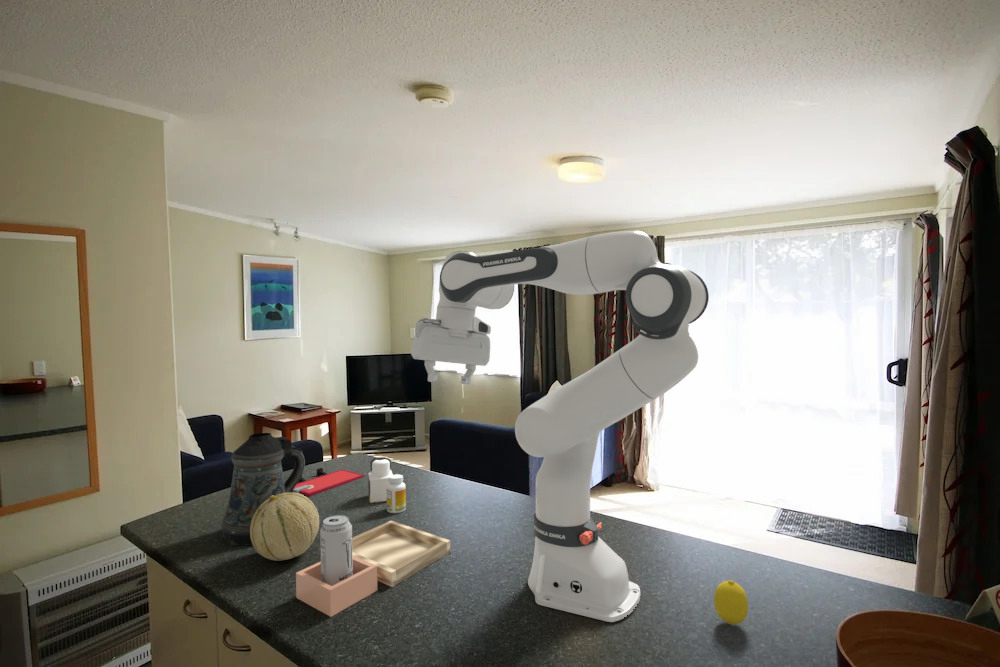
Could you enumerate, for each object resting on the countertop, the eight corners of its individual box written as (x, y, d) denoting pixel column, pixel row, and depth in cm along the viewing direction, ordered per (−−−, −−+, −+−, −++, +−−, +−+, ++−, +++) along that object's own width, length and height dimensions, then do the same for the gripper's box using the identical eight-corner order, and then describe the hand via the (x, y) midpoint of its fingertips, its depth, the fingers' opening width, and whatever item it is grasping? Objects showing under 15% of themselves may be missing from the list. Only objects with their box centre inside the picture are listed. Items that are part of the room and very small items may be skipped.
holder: (377, 590, 102) (377, 565, 102) (330, 616, 93) (330, 590, 93) (343, 574, 108) (342, 551, 108) (296, 597, 99) (295, 572, 99)
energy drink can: (347, 602, 97) (346, 526, 97) (316, 602, 98) (315, 526, 97) (357, 586, 103) (355, 513, 103) (327, 585, 104) (326, 513, 103)
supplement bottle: (408, 506, 146) (407, 473, 146) (402, 513, 141) (402, 479, 141) (390, 506, 147) (389, 473, 147) (384, 513, 142) (383, 479, 141)
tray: (450, 553, 118) (450, 540, 117) (391, 587, 103) (391, 572, 103) (391, 532, 129) (391, 520, 129) (331, 560, 115) (331, 546, 114)
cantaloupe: (333, 552, 118) (332, 489, 118) (274, 579, 106) (273, 509, 106) (295, 537, 127) (294, 478, 126) (237, 561, 114) (235, 495, 114)
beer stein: (205, 540, 125) (203, 440, 124) (265, 511, 143) (263, 424, 142) (258, 550, 120) (256, 445, 119) (313, 518, 138) (312, 428, 137)
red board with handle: (257, 495, 156) (287, 506, 148) (257, 486, 156) (287, 496, 148) (335, 471, 182) (364, 479, 174) (335, 463, 182) (364, 471, 174)
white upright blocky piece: (368, 495, 156) (367, 456, 155) (392, 492, 158) (391, 454, 158) (369, 503, 149) (369, 463, 149) (394, 500, 151) (393, 461, 151)
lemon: (738, 615, 93) (738, 572, 92) (754, 634, 87) (754, 588, 87) (708, 616, 92) (708, 573, 92) (722, 635, 87) (723, 589, 87)
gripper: (425, 315, 106) (419, 381, 105) (496, 328, 120) (491, 386, 119) (409, 316, 111) (402, 379, 110) (479, 328, 125) (474, 384, 124)
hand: (449, 383), depth 115 cm, fingers open, 8 cm apart
